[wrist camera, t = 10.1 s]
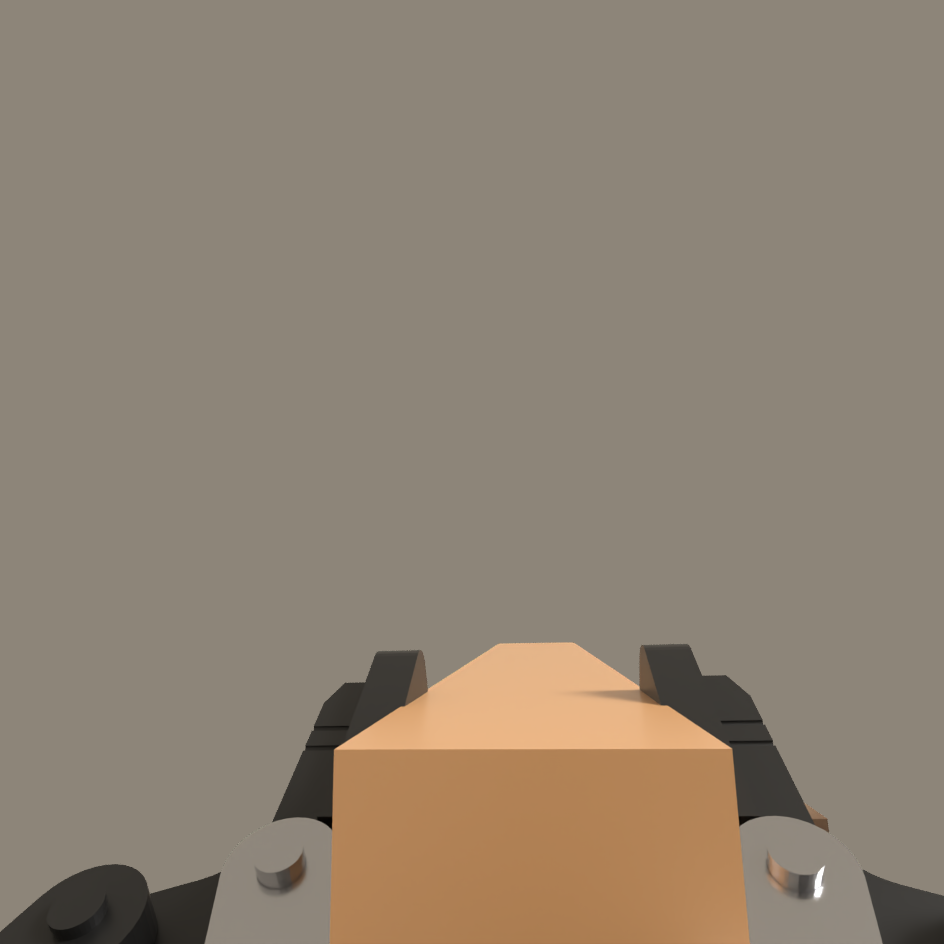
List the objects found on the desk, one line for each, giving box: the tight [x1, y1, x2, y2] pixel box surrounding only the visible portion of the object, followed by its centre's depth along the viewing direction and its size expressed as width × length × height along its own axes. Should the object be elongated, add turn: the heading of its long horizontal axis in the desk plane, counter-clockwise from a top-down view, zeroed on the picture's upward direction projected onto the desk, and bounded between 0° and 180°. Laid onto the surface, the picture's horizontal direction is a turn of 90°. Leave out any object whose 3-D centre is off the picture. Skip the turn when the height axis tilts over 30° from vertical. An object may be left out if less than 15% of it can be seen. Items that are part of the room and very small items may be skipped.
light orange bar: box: [330, 643, 750, 944], centre depth 20 cm, size 28×4×3 cm, turn 175°
